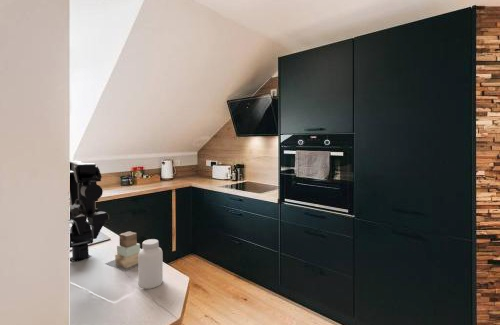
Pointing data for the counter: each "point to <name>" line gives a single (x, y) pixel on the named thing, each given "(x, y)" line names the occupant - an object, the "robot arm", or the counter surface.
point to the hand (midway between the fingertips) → (87, 236)
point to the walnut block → (128, 239)
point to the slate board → (112, 263)
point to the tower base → (126, 260)
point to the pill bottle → (150, 264)
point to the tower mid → (128, 250)
